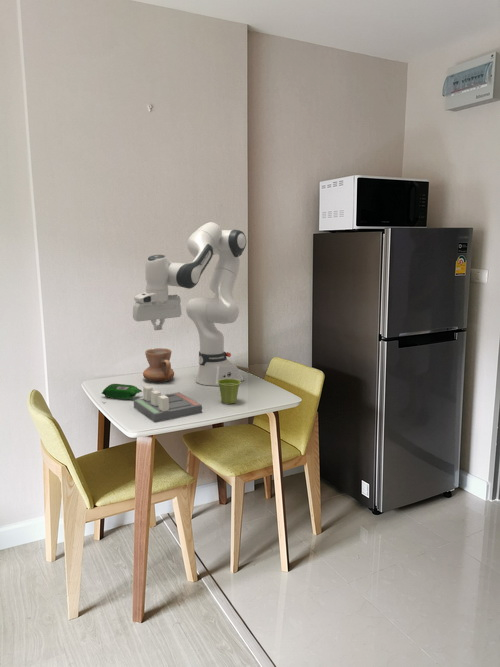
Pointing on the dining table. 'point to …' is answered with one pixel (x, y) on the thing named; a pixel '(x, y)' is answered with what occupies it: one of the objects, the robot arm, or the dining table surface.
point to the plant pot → (229, 390)
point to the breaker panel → (177, 407)
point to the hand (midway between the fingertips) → (158, 329)
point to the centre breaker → (155, 397)
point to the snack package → (120, 391)
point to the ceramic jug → (158, 365)
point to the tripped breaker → (163, 403)
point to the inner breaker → (147, 393)
